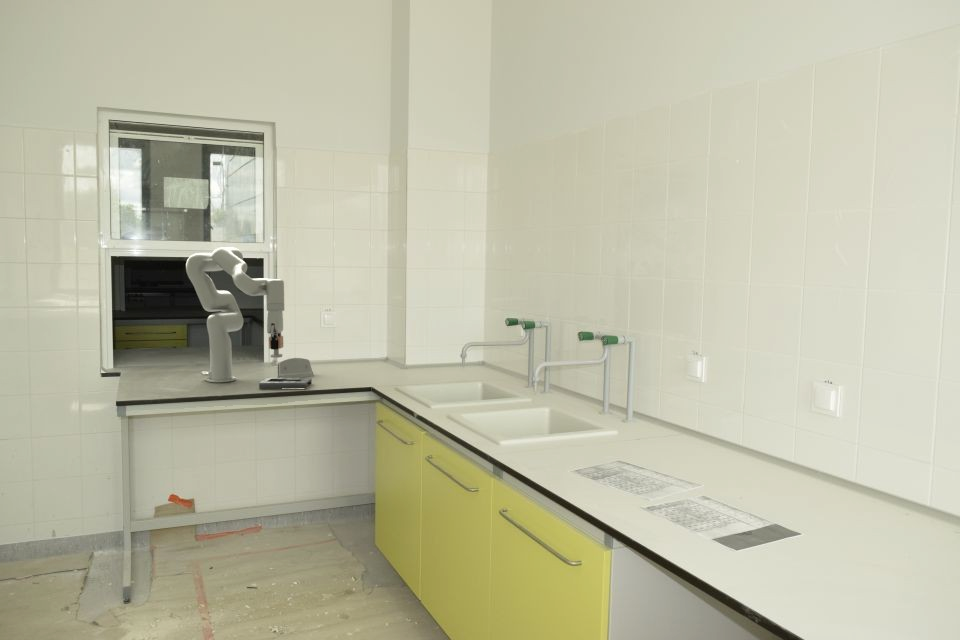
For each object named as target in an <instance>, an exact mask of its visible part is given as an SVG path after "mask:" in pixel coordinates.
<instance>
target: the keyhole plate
mask: <svg viewBox="0 0 960 640" xmlns="http://www.w3.org/2000/svg"><path fill="white" fill-rule="evenodd" d="M312 380H313V379H312V377H299V378H278V377H266V378H264V379H263V380H261V381H259V382H258V387H259V388H258V389H259V390H283V389H282V388H306V389H307V385H306V384H311V385H312V382H313V381H312Z"/></svg>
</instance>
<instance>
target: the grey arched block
mask: <svg viewBox="0 0 960 640" xmlns="http://www.w3.org/2000/svg"><path fill="white" fill-rule="evenodd" d="M309 376H310V377H314V371H313V369H312V365H311V361H310V360H309V359H307V358H301V357H293V358H287V359H283V360H281V361H279V362H278V363H277V378H280V377H281V378H297V377H299V378H310V377H309Z"/></svg>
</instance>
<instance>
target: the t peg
mask: <svg viewBox="0 0 960 640" xmlns="http://www.w3.org/2000/svg"><path fill="white" fill-rule="evenodd" d="M277 340H278V349H273V353H270V358H273V359H274V358H275V359H277V358H278V359H279V358H282V357H283V354H282V353H279V352H280V349H283V348H284V335H281V336H278V339H277ZM268 349H271V336H269V337H268ZM271 350H272V349H271Z"/></svg>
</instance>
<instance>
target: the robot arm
mask: <svg viewBox="0 0 960 640" xmlns="http://www.w3.org/2000/svg"><path fill="white" fill-rule="evenodd" d="M185 270H186V271H185V272H186V274H187V277H188V279H189V280H190V282H191V284H192V285H193V287H194V290H195V292H196V295H197V297H198V299H199V302H200V305H201V306H202V308H203V309H204V311H206V312H213V313H211V314H210V315H209V316H208V317H207V319H206V328H207V333H208V339H209V365H210V366H209V371H201V373H200V374H201V376H202V377H207V378H206V381H207V382H208V383H216V384H217V383H228V382H234V381H236V380H237V376H233V353H232V347H233V346H232V339H231V337H230V335H229V333H230V332H237V331H239V330H241V329H242V328H243V326H244V317H243V314H242V312H241V310H240V308H239V305H238V303H237V300H236V298H235V296H234V295H233V294H232V293H231V292H230V291H228V290H218V289H217V288H216V285H215V283H214V281H213V280H212V278H211V277H210V276H209V275H208V274H207V273H206V272H221V271H224V272H226V273H227V274H228V275H229V276H231V277H232V281H233V284H234V286H236V287H237V288H238V289H239V290H240V291H242V293H244V294H246V295H248V296H251V297H257V296H266V312H267V316H266V317H267V321H266V322H267V323H266V332H267V334H270V337H271V350H274V349H278V340H277V339H278V336H282V333H283V331H284V314H283V312H284V311H285V282H284V280H282V279H280V278H275V279H274V278H265V277H263V278H261V277H259V278H258V277H257V278H251V277H250V276H249V275H247V274H246V273H247V270H248V264H247V263H246V262H245V261H244V255H243V252H242V251H241V250H240V249H238V248H237V247H218V248H216V249H214V250H213V251H212V252H198V253H197V252H196V253H194V254H192V255H190V256H189V257H188V258H187V260H186V263H185Z"/></svg>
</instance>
